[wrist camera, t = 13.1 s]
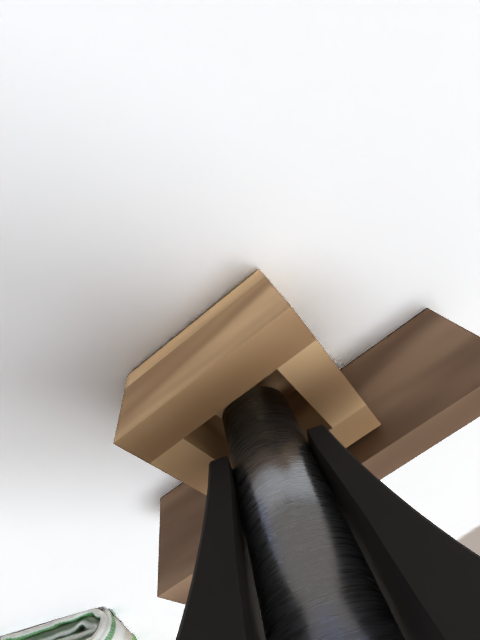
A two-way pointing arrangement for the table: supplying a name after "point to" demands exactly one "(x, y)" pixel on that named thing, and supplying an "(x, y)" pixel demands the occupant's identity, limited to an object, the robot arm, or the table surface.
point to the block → (233, 383)
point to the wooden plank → (378, 445)
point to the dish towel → (77, 628)
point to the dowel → (298, 531)
